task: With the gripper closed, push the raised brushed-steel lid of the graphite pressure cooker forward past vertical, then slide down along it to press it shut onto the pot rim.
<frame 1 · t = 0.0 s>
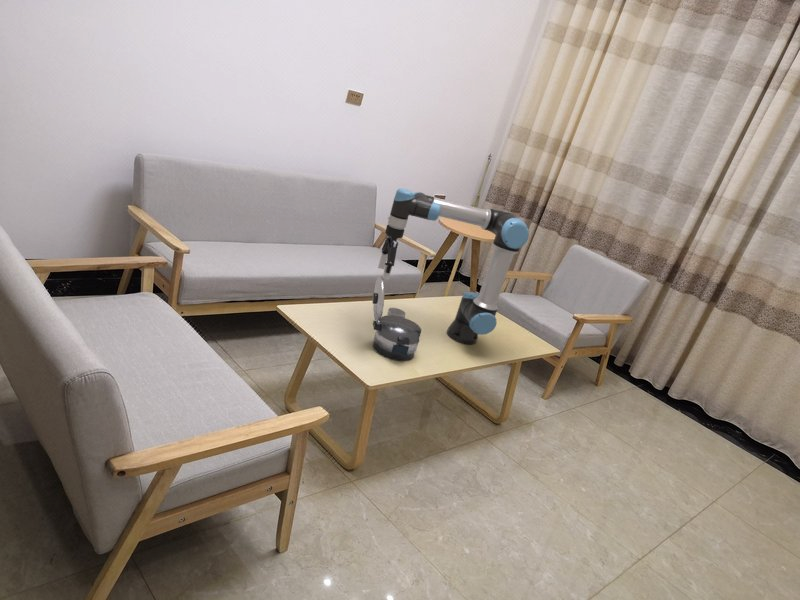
hand: (383, 273, 231), 28 cm above the table, fingers open, 13 cm apart
lid: (377, 300, 220), point 21 cm above the table, hinge at 98.0°
cooker: (393, 350, 230), on the table
cup: (391, 331, 248), on the table
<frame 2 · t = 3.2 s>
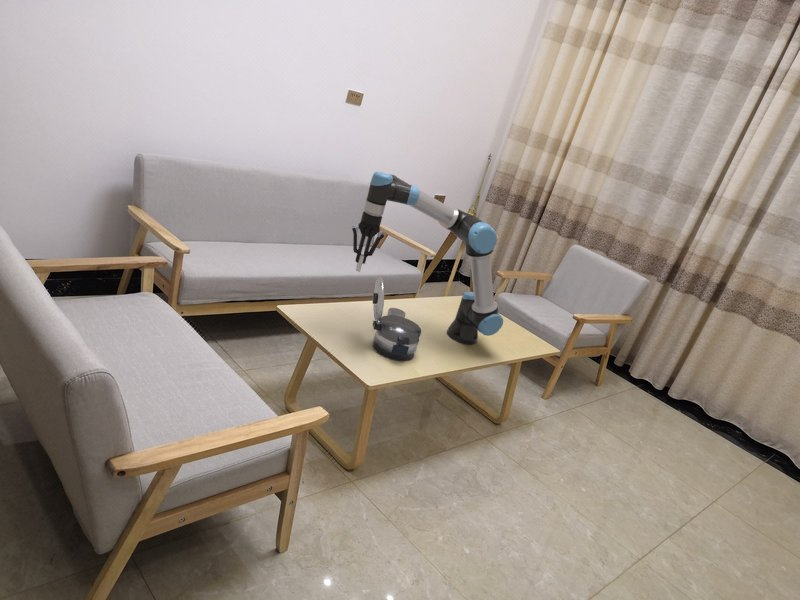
hand: (357, 270, 214), 32 cm above the table, fingers closed
nothing on the table moved.
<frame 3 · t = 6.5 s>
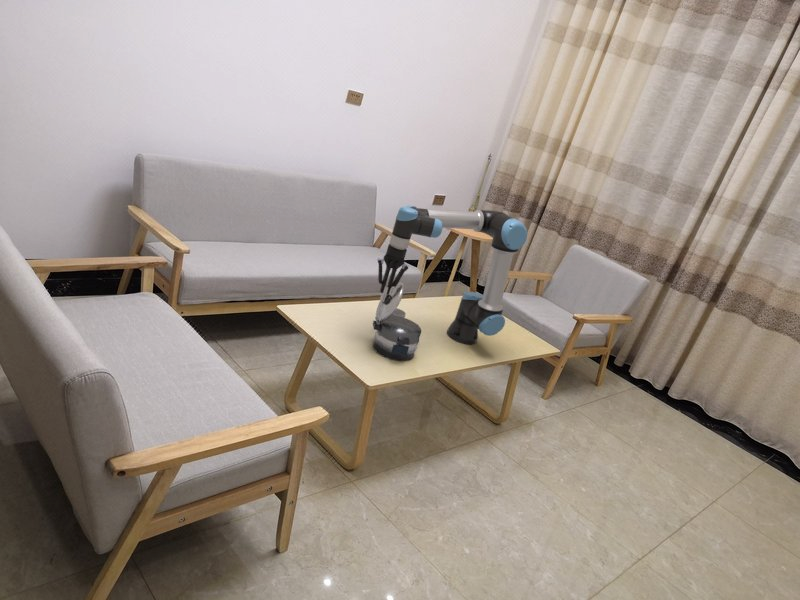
hand: (382, 300, 220), 21 cm above the table, fingers closed
lid: (387, 302, 221), point 21 cm above the table, hinge at 70.4°, touching gripper
everything else where it was.
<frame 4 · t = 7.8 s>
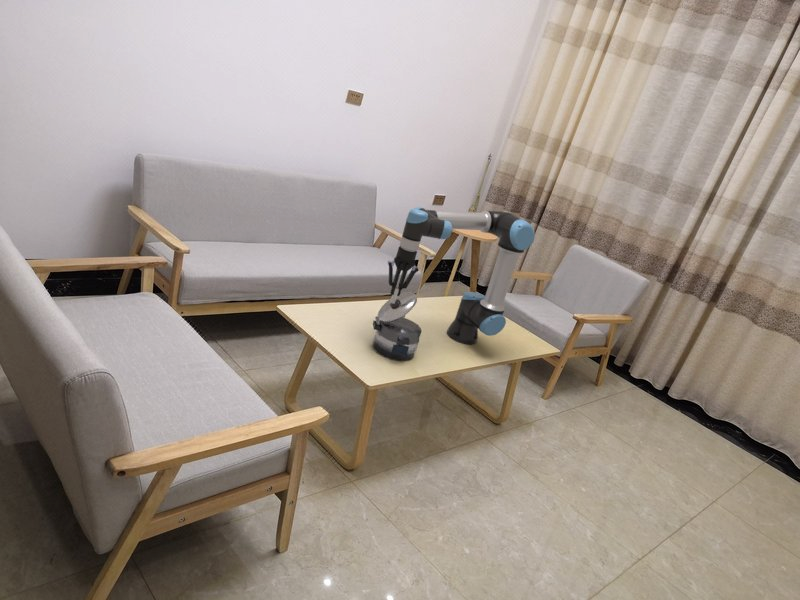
hand: (392, 302, 221), 21 cm above the table, fingers closed
lid: (395, 307, 222), point 19 cm above the table, hinge at 46.6°, touching gripper
everything else where it was.
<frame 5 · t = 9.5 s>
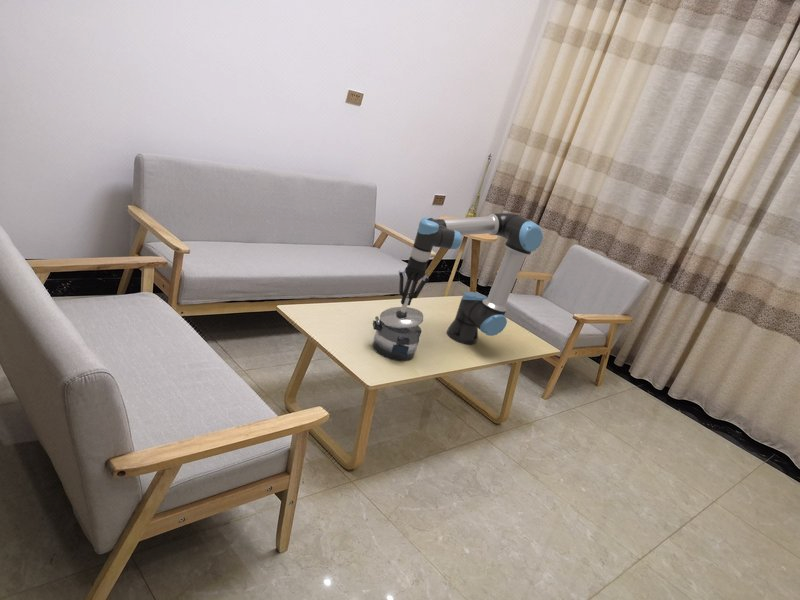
hand: (402, 311, 224), 18 cm above the table, fingers closed
lid: (399, 316, 225), point 16 cm above the table, hinge at 16.2°, touching gripper
everything else where it was.
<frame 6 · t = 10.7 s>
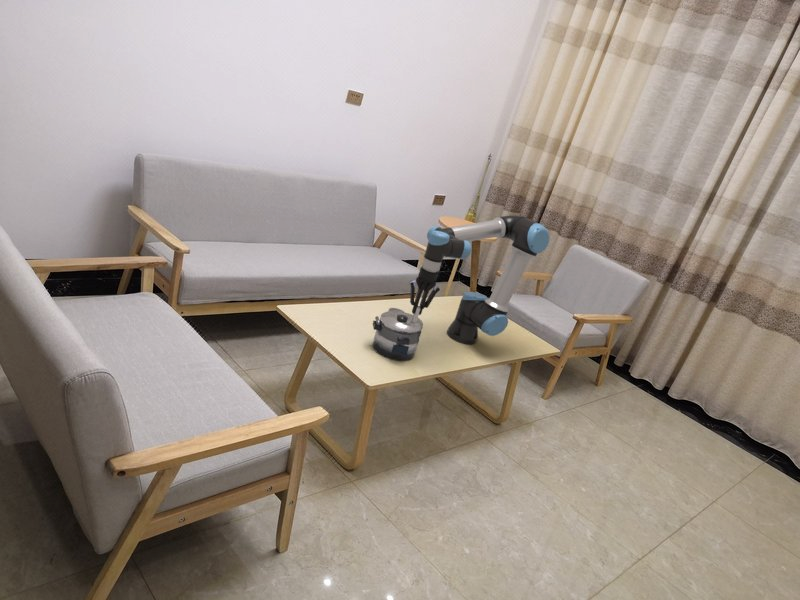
hand: (414, 320, 226), 15 cm above the table, fingers closed
lid: (399, 320, 225), point 14 cm above the table, hinge at 4.7°, touching gripper
everything else where it was.
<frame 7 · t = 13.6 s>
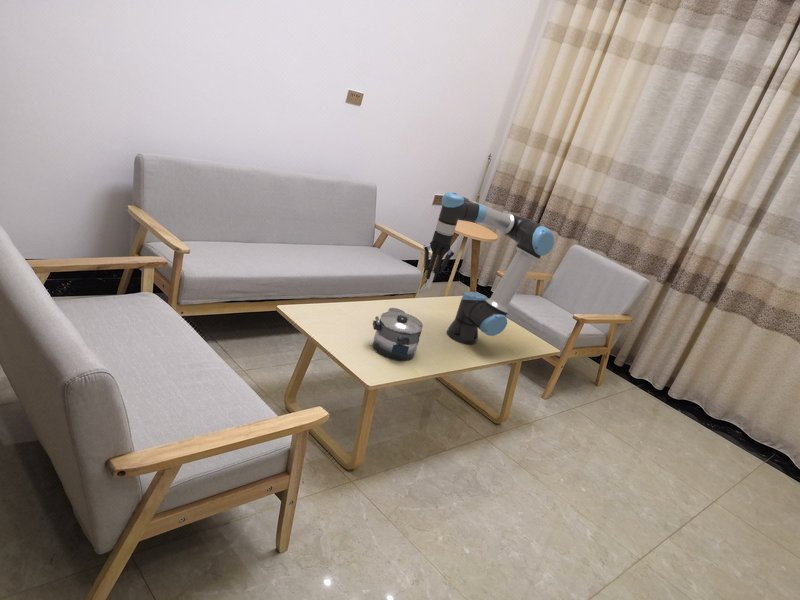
hand: (428, 286, 224), 30 cm above the table, fingers closed
lid: (399, 321, 225), point 14 cm above the table, hinge at 3.1°
everything else where it was.
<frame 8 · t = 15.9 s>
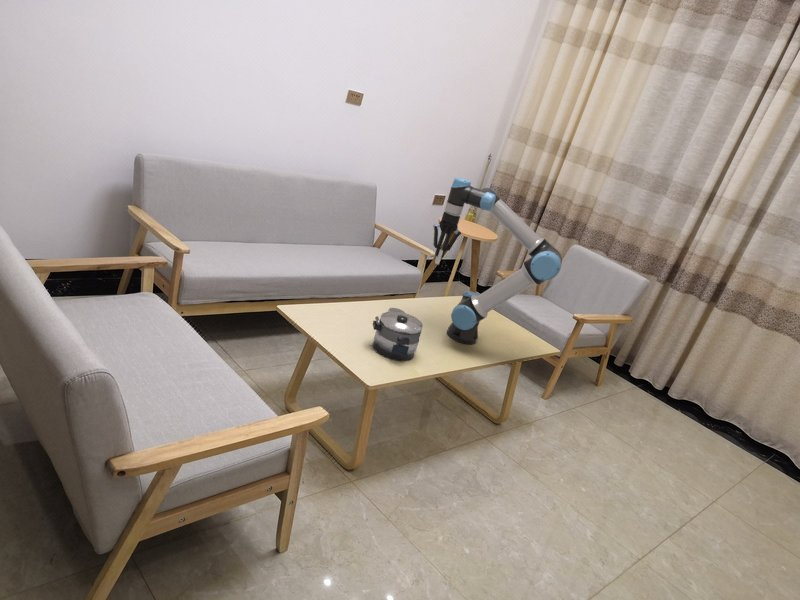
hand: (436, 263, 245), 34 cm above the table, fingers closed
nothing on the table moved.
at the end: lid at +3° (first picture: +98°) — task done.
